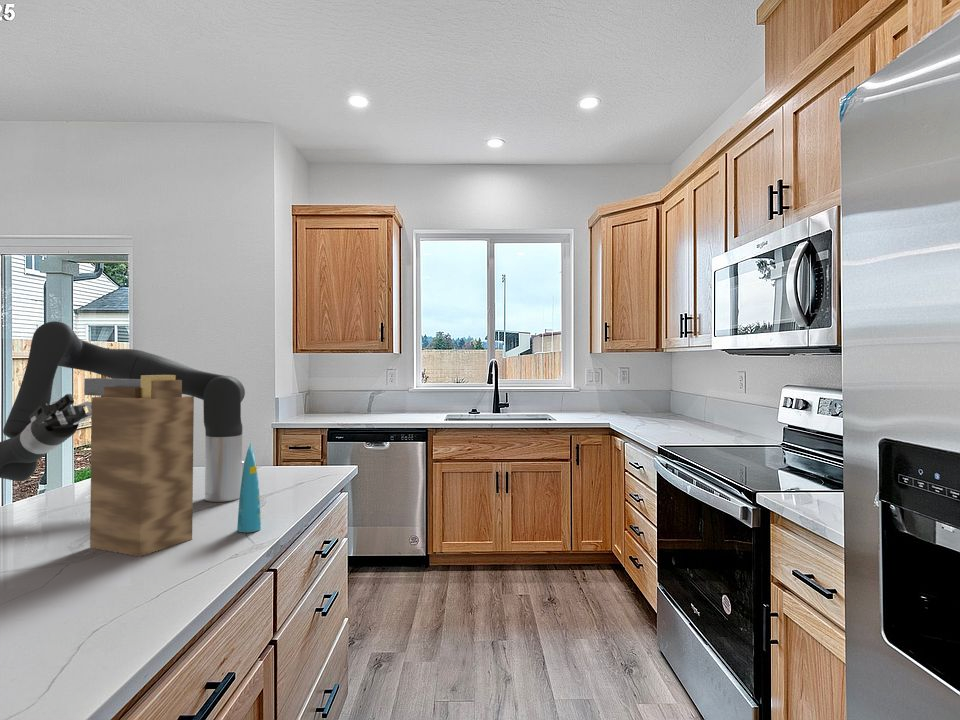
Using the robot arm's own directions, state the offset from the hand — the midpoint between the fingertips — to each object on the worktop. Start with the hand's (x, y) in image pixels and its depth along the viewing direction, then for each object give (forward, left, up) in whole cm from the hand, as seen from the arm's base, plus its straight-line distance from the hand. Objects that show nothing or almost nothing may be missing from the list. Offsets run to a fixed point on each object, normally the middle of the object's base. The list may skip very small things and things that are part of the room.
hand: (91, 396), depth 124 cm
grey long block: (0, +11, 0) cm, 11 cm away
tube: (-16, +29, -30) cm, 44 cm away
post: (0, +16, -30) cm, 34 cm away
